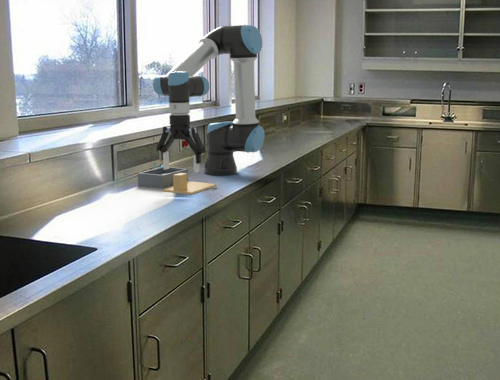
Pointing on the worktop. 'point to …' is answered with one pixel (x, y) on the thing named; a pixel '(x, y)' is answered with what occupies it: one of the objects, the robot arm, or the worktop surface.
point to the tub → (159, 177)
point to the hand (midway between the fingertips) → (181, 170)
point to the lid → (187, 185)
